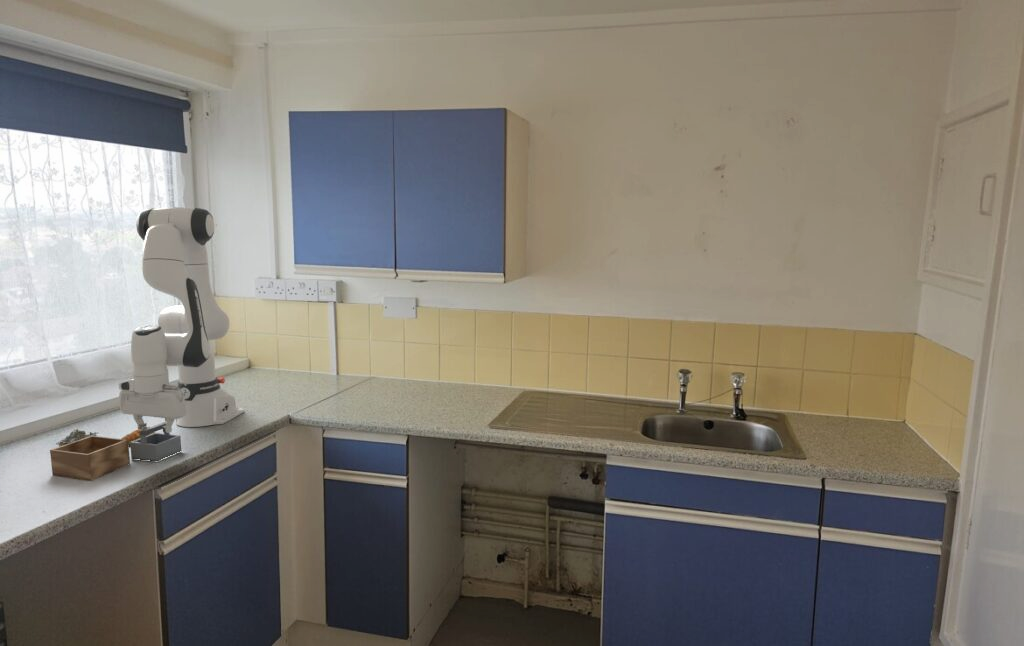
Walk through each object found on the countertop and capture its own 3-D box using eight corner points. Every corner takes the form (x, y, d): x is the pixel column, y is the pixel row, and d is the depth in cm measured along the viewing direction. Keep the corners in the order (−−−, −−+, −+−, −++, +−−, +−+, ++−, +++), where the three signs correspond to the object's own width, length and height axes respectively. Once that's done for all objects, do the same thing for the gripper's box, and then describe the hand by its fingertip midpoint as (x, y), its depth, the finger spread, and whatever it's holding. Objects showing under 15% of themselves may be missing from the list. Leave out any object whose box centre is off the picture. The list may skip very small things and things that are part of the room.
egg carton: (78, 440, 205) (77, 427, 205) (102, 441, 205) (101, 428, 204) (53, 452, 195) (52, 438, 194) (78, 452, 194) (77, 439, 194)
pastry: (127, 448, 198) (126, 436, 198) (115, 444, 202) (114, 432, 201) (158, 439, 206) (157, 428, 205) (146, 436, 209) (145, 424, 209)
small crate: (156, 448, 197) (154, 420, 196) (181, 452, 195) (179, 423, 193) (131, 459, 188) (129, 429, 187) (157, 462, 186) (155, 432, 185)
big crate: (94, 459, 188) (92, 435, 187) (130, 464, 185) (128, 439, 184) (52, 475, 176) (49, 450, 175) (90, 480, 173) (87, 454, 172)
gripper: (190, 383, 188) (193, 431, 190) (131, 378, 194) (135, 424, 196) (173, 388, 182) (176, 437, 184) (113, 383, 188) (117, 430, 190)
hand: (154, 430), depth 190 cm, fingers open, 7 cm apart
